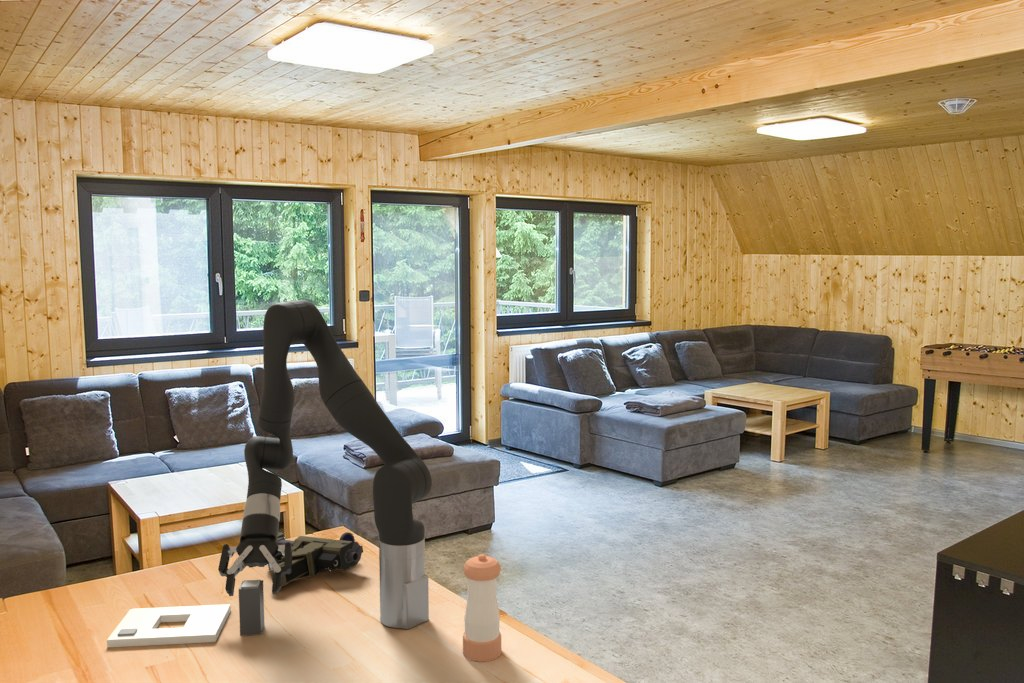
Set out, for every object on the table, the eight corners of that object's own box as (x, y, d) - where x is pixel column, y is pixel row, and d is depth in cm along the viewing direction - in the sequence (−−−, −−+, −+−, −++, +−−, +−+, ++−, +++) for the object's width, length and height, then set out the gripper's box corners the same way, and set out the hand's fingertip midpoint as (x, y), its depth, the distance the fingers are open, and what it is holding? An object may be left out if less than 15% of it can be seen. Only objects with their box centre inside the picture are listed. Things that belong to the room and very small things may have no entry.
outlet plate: (230, 610, 177) (230, 602, 177) (215, 642, 163) (215, 632, 163) (131, 615, 174) (130, 606, 174) (107, 647, 161) (106, 638, 160)
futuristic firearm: (303, 571, 180) (380, 530, 201) (209, 558, 197) (289, 521, 218) (309, 603, 181) (384, 559, 202) (215, 587, 198) (293, 548, 219)
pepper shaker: (476, 640, 164) (476, 545, 162) (508, 649, 160) (508, 552, 158) (455, 655, 158) (454, 557, 156) (488, 665, 154) (488, 564, 152)
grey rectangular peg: (264, 625, 170) (263, 578, 169) (261, 634, 166) (259, 586, 165) (244, 626, 170) (242, 579, 169) (240, 635, 166) (238, 587, 165)
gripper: (223, 513, 175) (212, 588, 165) (293, 510, 177) (286, 585, 167) (229, 529, 181) (219, 602, 171) (297, 526, 182) (291, 599, 172)
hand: (252, 594), depth 169 cm, fingers open, 8 cm apart
